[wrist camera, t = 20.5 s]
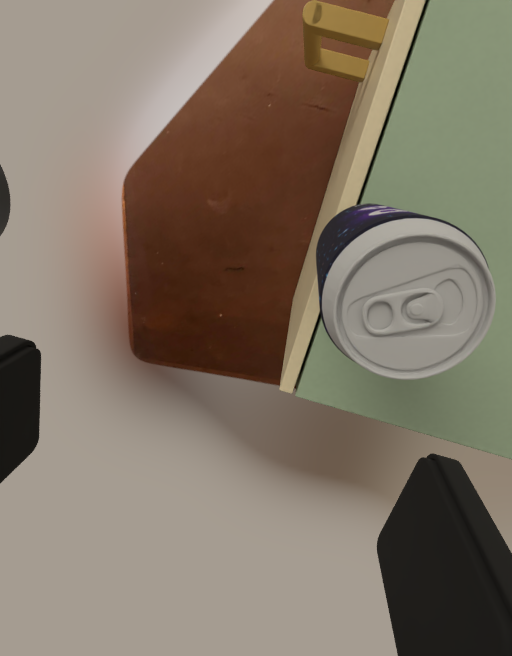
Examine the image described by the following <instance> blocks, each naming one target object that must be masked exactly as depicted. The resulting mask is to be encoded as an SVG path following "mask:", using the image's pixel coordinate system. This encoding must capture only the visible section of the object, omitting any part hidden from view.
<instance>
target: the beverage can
mask: <svg viewBox="0 0 512 656" xmlns="http://www.w3.org/2000/svg"><path fill="white" fill-rule="evenodd" d="M316 266H317V279H318V292H319V306H320V314H321V319H322V322H323V325H324V328H325V330H326V332H327V334H328V336H329V338H330V339H331V341H332V342H333V343H334V345H335V346H336V347H337V348H338V349H339V350H340V351H341V352H342V353H343V354H344V355H345V356H346V357H348V358H349V359H351V360H352V361H354V362H356V363H357V364H358V365H360V366H361V367H363V368H364V369H366V370H368V371H370V372H372V373H374V374H377V375H379V376H382V377H387V378H391V379H399V380H416V379H422V378H427V377H431V376H434V375H437V374H440V373H442V372H445V371H447V370H449V369H451V368H453V367H454V366H456V365H457V364H459V363H461V362H462V361H463V360H464V359H466V358H467V357H468V356H469V355H470V354H471V353H472V352H473V351H474V350H475V349H476V348H477V347H478V346H479V345H480V343H481V342H482V340H483V339H484V337H485V336H486V334H487V332H488V330H489V328H490V325H491V323H492V320H493V316H494V313H495V304H496V294H495V286H494V282H493V278H492V275H491V273H490V271H489V267H488V264H487V261H486V259H485V257H484V255H483V253H482V251H481V249H480V248H479V246H478V245H477V244H476V242H475V241H474V240H473V239H472V238H471V237H470V236H469V235H468V234H467V233H465V232H464V231H463V230H461V229H460V228H458V227H457V226H455V225H453V224H451V223H449V222H447V221H444V220H441V219H438V218H434V217H430V216H426V215H422V214H417V213H413V212H409V211H405V210H401V209H396V208H392V207H388V206H384V205H379V204H372V203H367V204H359V205H355V206H352V207H349V208H347V209H345V210H343V211H341V212H340V213H338V214H337V215H336V216H334V217H333V218H332V219H331V220H330V221H329V222H328V224H327V225H326V226H325V228H324V229H323V231H322V233H321V235H320V237H319V240H318V243H317V248H316Z"/></svg>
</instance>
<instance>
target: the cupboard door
mask: <svg viewBox="0 0 512 656" xmlns="http://www.w3.org/2000/svg"><path fill="white" fill-rule="evenodd" d="M425 2H426V0H395V1H394V4H393V6H392V8H391V10H390V12H389V15H388V17H387V19H386V18H382V17H378V16H374V15H370V14H366V13H363V12H359V11H355V10H351V9H347V8H343V7H339V6H335V5H331V4H327V3H323V2H319V1H315V0H313V1H310V2H308V3H307V4H306V5H305V7H304V9H303V37H304V60H305V65H306V67H307V68H308V69H311V70H315V71H319V72H323V73H327V74H330V75H334V76H338V77H342V78H346V79H350V80H353V81H357V82H359V85H358V88H357V92H356V95H355V98H354V101H353V105H352V108H351V111H350V114H349V118H348V121H347V124H346V128H345V131H344V134H343V137H342V141H341V144H340V147H339V150H338V154H337V157H336V160H335V163H334V167H333V170H332V173H331V177H330V180H329V183H328V186H327V190H326V193H325V196H324V199H323V203H322V206H321V209H320V213H319V216H318V219H317V222H316V226H315V229H314V232H313V235H312V239H311V242H310V245H309V249H308V252H307V255H306V258H305V262H304V265H303V268H302V271H301V275H300V278H299V281H298V284H297V288H296V291H295V294H294V298H293V303H292V309H291V316H290V323H289V329H288V336H287V342H286V349H285V355H284V362H283V368H282V375H281V381H280V388H279V389H280V391H284V392H287V393H293V390H294V387H295V384H296V381H297V378H298V375H299V372H300V369H301V366H302V363H303V360H304V357H305V354H306V351H307V348H308V346H309V343H310V340H311V337H312V334H313V331H314V328H315V325H316V322H317V319H318V316H319V313H320V306H319V292H318V279H317V266H316V248H317V243H318V240H319V237H320V235H321V233H322V231H323V229H324V228H325V226H326V225H327V224H328V222H329V221H330V220H331V219H332V218H333V217H334V216H336V215H337V214H338V213H340V212H341V211H343V210H345V209H347V208H349V207H352V206H355V205H356V204H357V201H358V199H359V196H360V193H361V190H362V187H363V184H364V181H365V178H366V175H367V172H368V169H369V166H370V163H371V160H372V157H373V154H374V151H375V149H376V146H377V143H378V140H379V137H380V134H381V131H382V128H383V125H384V122H385V119H386V116H387V113H388V110H389V107H390V104H391V102H392V99H393V96H394V93H395V90H396V87H397V84H398V81H399V78H400V75H401V72H402V69H403V66H404V63H405V60H406V57H407V54H408V52H409V49H410V46H411V43H412V40H413V37H414V34H415V31H416V28H417V25H418V22H419V19H420V16H421V13H422V10H423V7H424V5H425ZM322 36H323V37H327V38H331V39H335V40H338V41H342V42H346V43H350V44H354V45H358V46H362V47H365V48H369V49H373V50H372V52H371V54H370V57H369V59H368V60H364V59H360V58H357V57H353V56H349V55H345V54H341V53H337V52H333V51H330V50H326V49H322V48H321V40H322Z"/></svg>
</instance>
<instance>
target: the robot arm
mask: <svg viewBox="0 0 512 656" xmlns="http://www.w3.org/2000/svg"><path fill="white" fill-rule="evenodd" d="M40 374H41V353H40V351H39V350H38V349H36V345H35V343H34V342H32V341H29V340H26V339H23V338H18V337H15V336H12V335H5V336H2V337H0V483H1V482H2V481H3V480H4V479H5V478H6V477H7V476H8V475H9V474H10V473H11V472H12V471H13V470H14V469H15V468H17V467H18V466H19V465H20V464H21V463H22V462H23V461H24V460H25V459H26V458H27V457H28V456H29V455H30V454H31V453H32V452H33V450H34V449H35V447H36V445H37V443H38V440H39V418H40ZM377 553H378V558H379V563H380V568H381V573H382V578H383V583H384V588H385V593H386V598H387V603H388V608H389V613H390V618H391V623H392V628H393V633H394V638H395V643H396V648H397V653H398V656H512V553H511V552H510V550H509V548H508V546H507V544H506V543H505V541H504V539H503V537H502V536H501V534H500V532H499V530H498V529H497V527H496V525H495V523H494V522H493V520H492V518H491V516H490V514H489V513H488V511H487V509H486V507H485V506H484V504H483V502H482V500H481V499H480V497H479V495H478V494H477V491H476V490H475V488H474V486H473V484H472V483H471V481H470V479H469V477H468V476H467V474H466V472H465V470H464V469H463V467H462V465H461V464H460V463H459V461H457V460H454V459H451V458H447V457H444V456H440V455H436V454H430V455H428V456H427V458H420V459H419V461H418V462H417V464H416V466H415V468H414V470H413V472H412V473H411V476H410V477H409V479H408V481H407V483H406V485H405V487H404V489H403V491H402V493H401V494H400V496H399V498H398V500H397V502H396V504H395V506H394V508H393V510H392V512H391V513H390V516H389V517H388V520H387V521H386V523H385V525H384V527H383V529H382V531H381V533H380V535H379V537H378V541H377Z"/></svg>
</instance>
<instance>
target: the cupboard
mask: <svg viewBox="0 0 512 656" xmlns="http://www.w3.org/2000/svg"><path fill="white" fill-rule="evenodd" d="M367 203H372V204H379V205H384V206H388V207H392V208H396V209H401V210H405V211H409V212H413V213H417V214H422V215H426V216H430V217H434V218H438V219H441V220H444V221H447V222H449V223H451V224H453V225H455V226H457V227H458V228H460V229H461V230H463V231H464V232H465V233H467V234H468V235H469V236H470V237H471V238H472V239H473V240H474V241H475V242H476V244H477V245H478V246H479V248H480V249H481V251H482V253H483V255H484V257H485V259H486V261H487V264H488V267H489V271H490V273H491V275H492V278H493V282H494V286H495V294H496V304H495V313H494V316H493V320H492V323H491V325H490V328H489V330H488V332H487V334H486V336H485V337H484V339H483V340H482V342H481V343H480V345H479V346H478V347H477V348H476V349H475V350H474V351H473V352H472V353H471V354H470V355H469V356H468V357H467V358H466V359H464V360H463V361H462V362H461V363H459V364H457V365H456V366H454V367H453V368H451V369H449V370H447V371H445V372H442V373H440V374H437V375H434V376H431V377H427V378H422V379H416V380H399V379H391V378H387V377H382V376H379V375H377V374H374V373H372V372H370V371H368V370H366V369H364V368H363V367H361V366H360V365H358V364H357V363H356V362H354V361H352V360H351V359H349V358H348V357H346V356H345V355H344V354H343V353H342V352H341V351H340V350H339V349H338V348H337V347H336V346H335V345H334V343H333V342H332V341H331V339H330V338H329V336H328V334H327V332H326V330H325V328H324V325H323V322H322V319H321V314H320V313H319V316H318V319H317V322H316V325H315V328H314V331H313V334H312V337H311V340H310V343H309V346H308V348H307V351H306V354H305V357H304V360H303V363H302V366H301V369H300V372H299V375H298V378H297V381H296V396H297V397H300V398H304V399H307V400H310V401H314V402H317V403H321V404H324V405H327V406H331V407H334V408H338V409H341V410H345V411H348V412H352V413H355V414H358V415H362V416H365V417H369V418H372V419H376V420H379V421H382V422H386V423H389V424H392V425H396V426H399V427H403V428H407V429H410V430H413V431H417V432H420V433H424V434H427V435H430V436H434V437H437V438H440V439H444V440H447V441H451V442H454V443H458V444H461V445H464V446H468V447H471V448H475V449H478V450H482V451H485V452H489V453H492V454H495V455H499V456H502V457H506V458H509V459H512V0H426V2H425V5H424V7H423V10H422V13H421V16H420V19H419V22H418V25H417V28H416V31H415V34H414V37H413V40H412V43H411V46H410V49H409V52H408V54H407V57H406V60H405V63H404V66H403V69H402V72H401V75H400V78H399V81H398V84H397V87H396V90H395V93H394V96H393V99H392V102H391V104H390V107H389V110H388V113H387V116H386V119H385V122H384V125H383V128H382V131H381V134H380V137H379V140H378V143H377V146H376V149H375V151H374V154H373V157H372V160H371V163H370V166H369V169H368V172H367V175H366V178H365V181H364V184H363V187H362V190H361V193H360V196H359V199H358V201H357V204H356V205H359V204H367Z"/></svg>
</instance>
